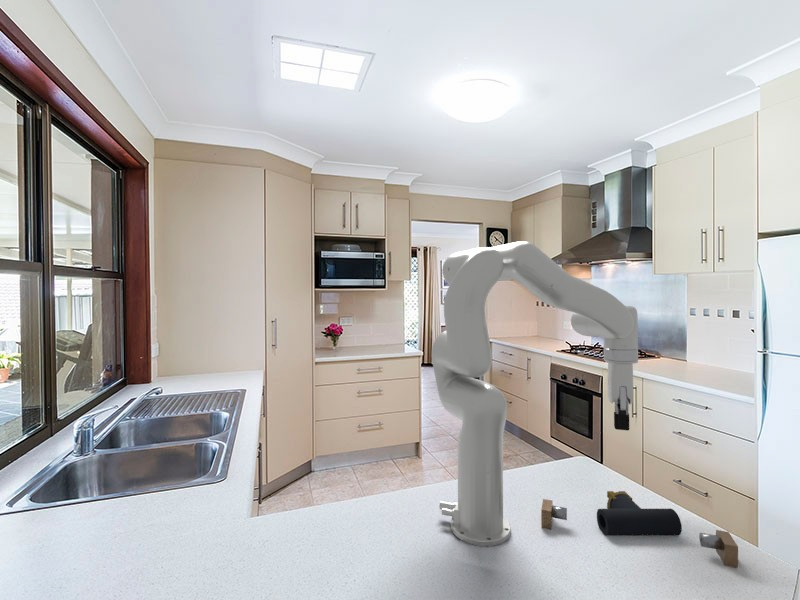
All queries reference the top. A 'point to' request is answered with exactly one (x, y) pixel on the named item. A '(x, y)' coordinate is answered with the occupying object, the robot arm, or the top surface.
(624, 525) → the pipe connector
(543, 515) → the left shaft
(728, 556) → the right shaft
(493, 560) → the top surface
